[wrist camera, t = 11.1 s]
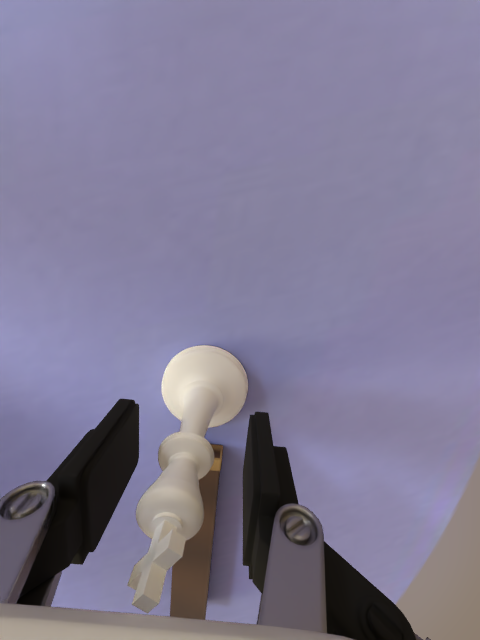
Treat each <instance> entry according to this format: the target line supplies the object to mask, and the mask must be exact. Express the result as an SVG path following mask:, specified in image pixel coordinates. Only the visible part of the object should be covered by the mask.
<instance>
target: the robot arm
mask: <svg viewBox="0 0 480 640" xmlns="http://www.w3.org/2000/svg"><path fill="white" fill-rule="evenodd" d="M138 458H139V405H138V404H135V401H134V400H129V399H119V400H118V402H117V403H116V404H115V405H114V406H113V408H112V409H111V410H110V411H109V413H108V414H107V415H106V416H105V417H104V419H103V420H102V421H101V422H100V423H99V425H98V426H97V427H96V428H95V429H92V430H90V431H89V432H88V433H87V434H86V435H85V436H84V437H83V439H82V440H81V441H80V442H79V443H78V444H77V446H76V447H75V448H74V449H73V450H72V452H71V453H70V454H69V455H68V456H67V457H66V459H65V460H64V461H63V462H62V463H61V465H60V466H59V467H58V468H57V469H56V470H55V472H54V473H53V474H52V475H51V476H50V477H49V479H48V480H47V481H33V482H28V483H26V484H23V485H21V486H18V487H17V488H15V489H13V490H11V491H10V492H8V493H7V494H6V495H5V496H3V497H2V498H1V499H0V640H423V639H421V638H420V637H419V636H418V635H416V634H415V633H414V632H413V630H412V628H411V625H410V623H409V622H408V620H407V619H406V617H405V616H404V614H403V613H402V612H401V611H400V610H399V609H398V607H397V606H396V605H395V604H394V603H393V602H392V601H391V600H389V599H388V598H387V597H386V596H385V595H384V594H383V593H382V592H380V591H379V590H378V589H377V588H376V587H375V586H374V585H373V584H371V583H370V582H369V581H368V580H367V579H366V578H365V577H364V576H362V575H361V574H360V573H359V572H358V571H357V570H356V569H355V568H353V567H352V566H351V565H350V564H349V563H348V562H347V561H346V560H344V559H343V558H342V557H341V556H340V555H339V554H338V553H337V552H335V551H334V550H333V549H332V548H331V547H330V546H329V545H328V544H326V543H325V542H324V534H323V529H322V525H321V523H320V521H319V519H318V518H317V517H316V515H315V514H314V513H313V512H312V511H310V510H309V509H308V508H306V507H304V506H302V505H299V504H298V500H297V495H296V490H295V486H294V481H293V477H292V472H291V467H290V463H289V458H288V453H287V450H286V448H285V447H277V446H273V441H272V434H271V428H270V421H269V415H268V413H265V412H255V415H250V419H249V427H248V435H247V443H246V451H245V459H244V467H243V565H245V566H249V579H253V583H254V584H255V585H256V587H257V588H258V589H259V590H260V592H261V593H262V594H261V601H260V607H259V614H258V620H257V625H256V624H245V623H234V622H223V621H212V620H201V619H190V618H179V617H168V616H156V615H144V614H133V613H121V612H109V611H97V610H85V609H73V608H61V607H51V604H52V601H53V598H54V595H55V592H56V589H57V586H58V583H59V580H60V577H61V573H62V570H64V569H65V568H67V567H68V566H69V565H70V564H82V565H83V563H84V561H85V559H86V557H87V555H88V553H89V552H93V551H94V550H95V549H96V547H97V545H98V543H99V541H100V539H101V537H102V535H103V533H104V531H105V529H106V527H107V525H108V523H109V521H110V519H111V517H112V515H113V513H114V511H115V508H116V506H117V504H118V502H119V500H120V498H121V496H122V494H123V492H124V490H125V488H126V486H127V484H128V482H129V480H130V478H131V476H132V474H133V472H134V470H135V468H136V466H137V463H138ZM426 640H431V639H429V638H428V637H427V638H426Z"/></svg>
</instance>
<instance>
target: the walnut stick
mask: <svg viewBox="0 0 480 640" xmlns="http://www.w3.org/2000/svg"><path fill="white" fill-rule="evenodd" d="M211 446H212V448H213V451H214V462H213V465H212V467H211V468H210V470H209V472H208V473H207V474H206V475H205V476H204V477H203V478H201V479H199V489H200V494H201V497H202V501H203V508H204V520H203V524H202V526H201V528H200V530H199V531H198V532H197V533H196V534H195V535H194V536H193V537H192V538H190V539H188V540H186V541H185V546H184V551H183V556H182V557H181V558H180V559H179V560H178V561H177V562H176V563H175V564H174V565H173V567H172V588H171V608H170V617H179V618H190V619H201V620H205V617H206V607H207V597H208V587H209V577H210V566H211V556H212V546H213V536H214V526H215V516H216V506H217V496H218V485H219V475H220V470H221V463H222V453H223V446H222V445H216V444H211Z"/></svg>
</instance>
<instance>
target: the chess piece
mask: <svg viewBox="0 0 480 640" xmlns="http://www.w3.org/2000/svg"><path fill="white" fill-rule="evenodd" d="M247 392H248V379H247V375H246V372H245V370H244V368H243V366H242V365H241V363H240V362H239V361H238V360H237V359H236V358H235V357H234V356H233V355H232V354H230V353H229V352H227V351H225V350H223V349H221V348H218V347H214V346H207V345H201V346H194V347H190V348H187V349H185V350H183V351H181V352H180V353H178V354H177V355H176V356H175V357H174V358H173V359H172V360H171V361H170V362H169V364H168V365H167V367H166V370H165V372H164V376H163V379H162V396H163V399H164V402H165V404H166V406H167V407H168V409H169V410H170V412H171V413H172V414H173V415H174V416H175V417H177V418H178V419H179V420H181V427H180V432H177V433H174V434H171V435H170V436H168V437H167V438H165V439H164V441H163V442H162V443H161V445H160V447H159V452H158V461H159V465H160V467H161V469H162V471H163V472H162V473H161V475H160V476H159V478H158V479H157V480H156V481H155V482H154V483H153V484H152V485H151V486H150V487H149V488H148V490H147V491H146V492H145V493H144V495H143V496H142V497H141V499H140V501H139V503H138V505H137V509H136V519H137V522H138V525H139V527H140V528H141V530H142V531H143V532H144V533H145V534H146V535H147V536H148V537H150V538H151V539H152V541H151V545H150V548H149V551H148V553H147V554H146V555H145V556H144V557H143V558H142V559H141V560H140V561H139V562H138V563H137V564H136V565H134V568H133V571H132V574H131V577H130V580H129V582H128V586H129V587H131V588H133V589H134V590H136V593H135V596H134V599H133V602H132V605H134V606H135V607H137V608H139V609H141V610H142V611H144V612H146V613H149V612H150V611H151V610H152V609H153V608H154V607H155V606H157V605H158V604H159V601H160V597H161V593H162V589H163V584H164V580H165V576H166V572H167V570H168V569H169V568H170V567H171V566H173V565H174V564H175V563H176V562H177V561H178V560H179V559H180V558H181V557H182V556H183V551H184V546H185V541H186V540H188V539H190V538H192V537H193V536H194V535H195V534H196V533H197V532H198V531H199V530H200V528H201V526H202V524H203V520H204V508H203V501H202V497H201V494H200V489H199V479H201V478H203V477H204V476H205V475H206V474H207V473H208V472H209V470H210V468H211V467H212V465H213V462H214V451H213V448H212V446H211V444H210V443H209V442H208V441H207V440H206V439H205V438H204V437H205V434H206V432H207V429H208V428H210V427H216V426H220V425H222V424H225V423H227V422H228V421H230V420H232V419H233V418H234V417H235V416H236V415H237V414H238V413H239V412H240V410H241V409H242V407H243V405H244V403H245V400H246V396H247Z"/></svg>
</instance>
